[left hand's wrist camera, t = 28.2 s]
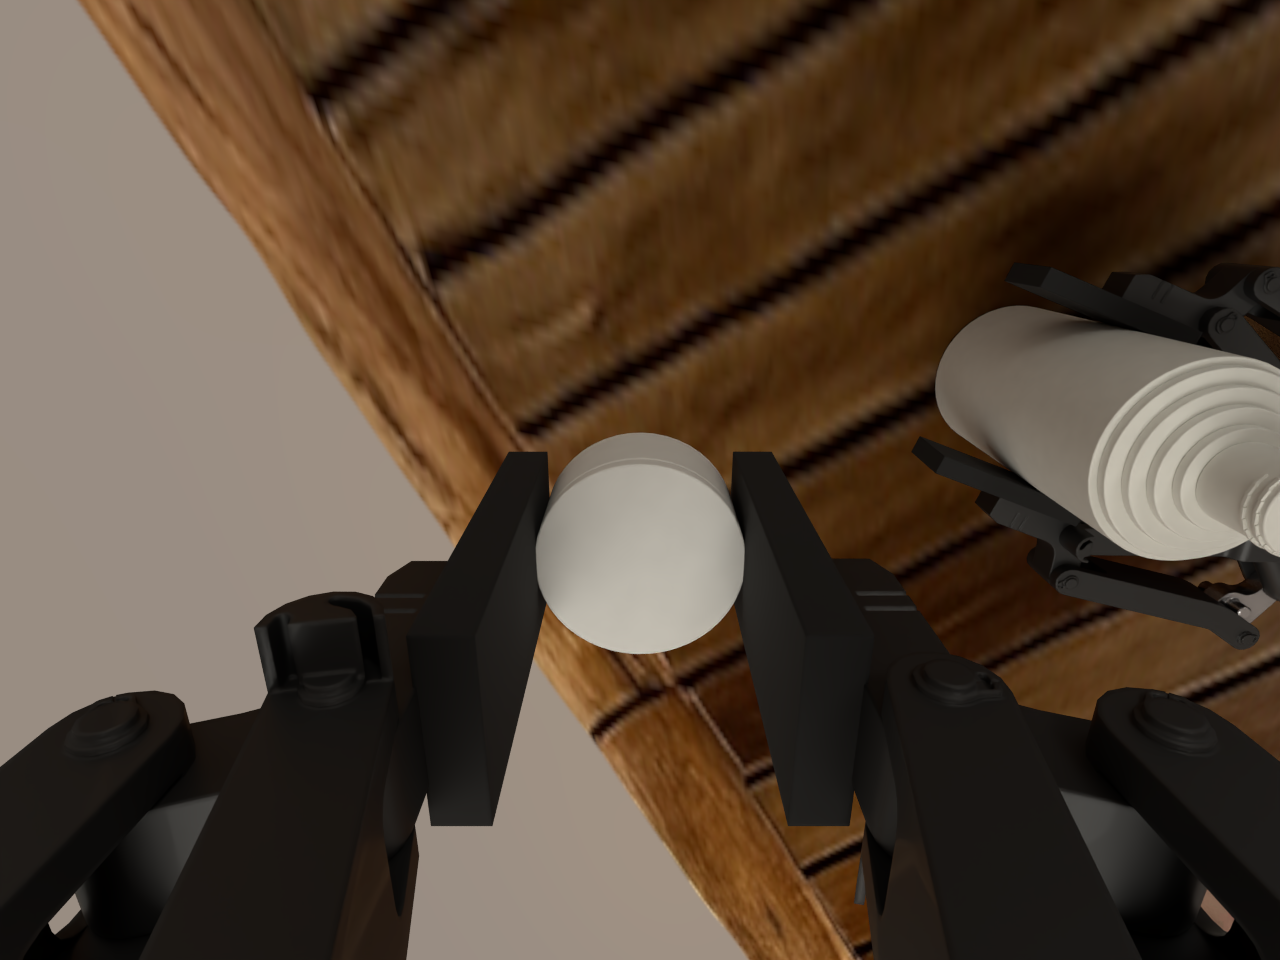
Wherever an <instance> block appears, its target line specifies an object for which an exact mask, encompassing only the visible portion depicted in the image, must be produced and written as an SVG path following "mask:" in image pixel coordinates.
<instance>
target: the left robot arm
mask: <svg viewBox="0 0 1280 960" xmlns="http://www.w3.org/2000/svg"><path fill="white" fill-rule="evenodd" d="M549 499H550V497H549V476H548V455H547V452H509V453H508V454H507V456H506V458H505V460H504V462H503V463H502V465H501V467H500V469H499V470H498V472H497V474H496V476H495V478H494V479H493V481H492V483H491V485H490V487H489V488H488V490H487V492H486V494H485V495H484V497H483V499H482V501H481V503H480V504H479V506H478V508H477V510H476V512H475V513H474V515H473V517H472V519H471V520H470V522H469V524H468V526H467V528H466V529H465V531H464V533H463V535H462V537H461V538H460V540H459V542H458V544H457V545H456V547H455V549H454V551H453V553H452V554H451V556H450V558H449V560H448V561H411V562H409V563H408V564H406V565H405V566H403V567H402V568H400V569H399V570H397V571H396V572H394V573H392V574H391V575H389V576H388V577H387V578H386V580H385V581H384V583H383V584H382V585H381V587H380V588H379V590H378V591H377V592H376V594H375V597H373V596H370V595H366V594H362V593H358V592H329V593H323V594H317V595H311V596H307V597H304V598H301V599H298V600H296V601H293V602H290V603H287V604H285V605H283V606H281V607H279V608H278V609H276V610H274V611H272V612H271V613H269V614H267V615H266V616H265V617H264V618H263V619H262V620H261V621H260V622H259V623H258V624H257V625H256V626H255V627H254V631H255V635H256V640H257V645H258V649H259V654H260V659H261V663H262V668H263V672H264V677H265V681H266V686H267V691H268V694H267V696H266V698H265V700H264V702H263V704H262V707H261V708H260V709H257V710H253V711H249V712H245V713H241V714H237V715H231V716H226V717H221V718H216V719H211V720H206V721H201V722H196V723H191V724H190V723H189V719H188V716H187V712H186V708H185V705H184V703H183V702H182V701H181V700H180V699H179V698H178V697H176V696H175V695H174V694H170V693H164V692H159V691H144V692H132V693H125V694H119V695H116V696H115V697H113V696H111V697H108V698H105V699H101V700H99V701H96V702H95V703H93V704H91V705H89V706H87V707H84V708H82V709H80V710H78V711H75V712H73V713H71V714H70V715H68V716H67V717H65V718H64V719H62V720H60V721H59V722H57V723H56V724H54V725H53V726H51V727H50V728H48V729H47V730H46V731H44V732H43V733H42V734H41V735H39V736H38V737H37V738H36V739H34V740H33V741H32V742H31V743H29V744H28V745H27V746H26V747H24V748H23V749H22V750H21V751H19V752H18V753H17V754H16V755H15V756H13V757H12V758H11V759H10V760H8V761H7V762H6V763H5V764H3V765H2V766H1V767H0V960H406V957H407V949H408V941H409V933H410V925H411V917H412V909H413V901H414V893H415V884H416V876H417V868H418V860H419V852H418V844H417V837H416V830H415V823H416V820H417V817H418V815H419V812H420V809H421V806H422V804H423V801H424V798H425V796H426V793H427V799H428V806H429V814H430V821H431V826H492V825H493V821H494V817H495V813H496V809H497V805H498V801H499V796H500V792H501V788H502V784H503V780H504V776H505V772H506V768H507V763H508V759H509V755H510V751H511V747H512V743H513V739H514V734H515V731H516V726H517V722H518V718H519V714H520V710H521V706H522V702H523V698H524V693H525V689H526V685H527V681H528V677H529V673H530V669H531V664H532V660H533V656H534V652H535V648H536V644H537V640H538V636H539V632H540V627H541V623H542V619H543V615H544V611H545V607H546V603H547V602H546V601H545V599H544V597H543V595H542V592H541V590H540V587H539V584H538V579H537V563H536V540H537V536H538V533H539V530H540V527H541V524H542V520H543V517H544V514H545V511H546V508H547V505H548V502H549ZM731 500H732V503H733V506H734V509H735V512H736V516H737V519H738V522H739V525H740V528H741V531H742V535H743V538H744V543H745V553H744V571H743V582H742V586H741V589H740V591H739V593H738V596H737V598H736V600H735V602H734V605H735V609H736V613H737V617H738V621H739V626H740V630H741V634H742V638H743V642H744V646H745V650H746V654H747V659H748V663H749V667H750V671H751V675H752V679H753V683H754V687H755V692H756V696H757V700H758V704H759V708H760V712H761V716H762V720H763V724H764V729H765V733H766V737H767V741H768V745H769V749H770V753H771V757H772V762H773V766H774V770H775V774H776V778H777V782H778V786H779V790H780V795H781V799H782V803H783V807H784V811H785V815H786V819H787V823H788V826H849V825H850V818H851V810H852V803H853V795H854V791H855V793H856V796H857V799H858V801H859V804H860V807H861V809H862V812H863V815H864V817H865V820H866V823H865V830H864V837H863V844H862V851H861V858H860V865H859V872H858V879H857V885H856V893H855V901H854V903H855V904H862V905H864V901H865V895H866V899H867V907H868V915H869V923H870V931H871V939H872V947H873V955H874V960H1280V761H1278V760H1277V759H1276V758H1275V757H1273V756H1272V755H1271V754H1269V753H1268V752H1267V751H1266V750H1264V749H1263V748H1262V747H1261V746H1259V745H1258V744H1257V743H1256V742H1254V741H1253V740H1252V739H1251V738H1249V737H1248V736H1247V735H1246V734H1244V733H1243V732H1242V731H1241V730H1239V729H1238V728H1237V727H1236V726H1234V725H1233V724H1231V723H1230V722H1228V721H1227V720H1225V719H1224V718H1222V717H1221V716H1219V715H1217V714H1216V713H1214V712H1213V711H1211V710H1210V709H1207V708H1205V707H1203V706H1200V705H1198V704H1196V703H1194V702H1191V701H1189V700H1188V699H1186V698H1184V697H1182V696H1178V695H1175V694H1172V693H1169V694H1168V693H1165V692H1164V691H1159V690H1154V689H1141V688H1129V687H1126V688H1121V689H1115V690H1110V691H1107V692H1106V693H1105V694H1104V695H1102V696H1101V697H1100V698H1099V699H1098V700H1097V703H1096V707H1095V711H1094V714H1093V718H1092V721H1091V720H1086V719H1081V718H1076V717H1071V716H1066V715H1061V714H1056V713H1051V712H1046V711H1041V710H1036V709H1033V708H1029V707H1025V706H1021V705H1018V703H1017V701H1016V699H1015V697H1014V695H1013V693H1012V691H1011V690H1010V689H1009V688H1008V686H1007V685H1006V684H1005V683H1004V681H1003V680H1002V679H1001V678H1000V677H999V676H997V675H996V674H994V673H993V672H991V671H990V670H988V669H987V668H985V667H984V666H982V665H980V664H977V663H975V662H972V661H970V660H967V659H965V658H962V657H960V656H955V655H950V654H949V652H948V651H947V649H946V648H945V647H944V645H943V644H942V642H941V641H940V639H939V638H938V637H937V635H936V634H935V632H934V631H933V630H932V628H931V627H930V625H929V624H928V623H927V621H926V620H925V618H924V617H923V616H922V614H921V613H920V611H917V610H916V606H915V604H914V603H913V601H912V600H911V599H910V597H909V596H906V592H905V590H904V589H903V587H902V586H901V584H900V583H899V582H898V580H897V579H896V577H895V576H894V575H893V574H892V573H891V572H889V571H888V570H886V569H884V568H883V567H881V566H880V565H878V564H877V563H875V562H873V561H872V560H870V559H831V557H830V555H829V553H828V552H827V550H826V548H825V546H824V545H823V543H822V541H821V539H820V537H819V536H818V534H817V532H816V530H815V528H814V527H813V525H812V523H811V521H810V520H809V518H808V516H807V514H806V512H805V511H804V509H803V507H802V505H801V503H800V502H799V500H798V498H797V496H796V495H795V493H794V491H793V489H792V487H791V486H790V484H789V482H788V480H787V478H786V477H785V475H784V473H783V471H782V470H781V468H780V466H779V464H778V462H777V461H776V459H775V457H774V455H773V454H772V452H733V465H732V486H731ZM1207 890H1208V891H1209V892H1210V893H1211V894H1212V895H1213V896H1214V897H1215V898H1216V900H1217V901H1218V902H1219V903H1220V904H1221V905H1222V906H1223V907H1224V908H1225V909H1226V911H1227V912H1228V913H1229V914H1230V915H1231V916H1232V917H1233V918H1234V921H1233V923H1232V926H1231V928H1230V930H1229V931H1228V932H1226V931H1224V930H1223V929H1222V928H1221V927H1220V926H1219V925H1217V924H1216V923H1215V922H1214V921H1213V920H1212V919H1211V918H1210V916H1209V915H1208V914H1207V913H1206V912H1205V911H1204V910H1203V908H1202V907H1201V904H1202V901H1203V899H1204V896H1205V894H1206V891H1207ZM74 893H75V894H76V897H77V899H78V902H79V905H80V908H81V910H80V911H79V912H78V913H77V915H76V916H75V917H74V918H73V919H72V920H71V921H70V923H69V924H67V925H66V926H65V927H64V928H63V929H61V930H60V931H59V932H58V933H57V934H53V933H52V931H51V929H50V927H49V924H48V922H49V921H50V920H51V919H52V918H53V917H54V916H55V915H56V913H57V912H58V911H59V910H60V909H61V908H62V907H63V906H64V905H65V903H66V902H67V901H68V900H69V899H70V898H71V897H72V896H73V895H74Z"/></svg>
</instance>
